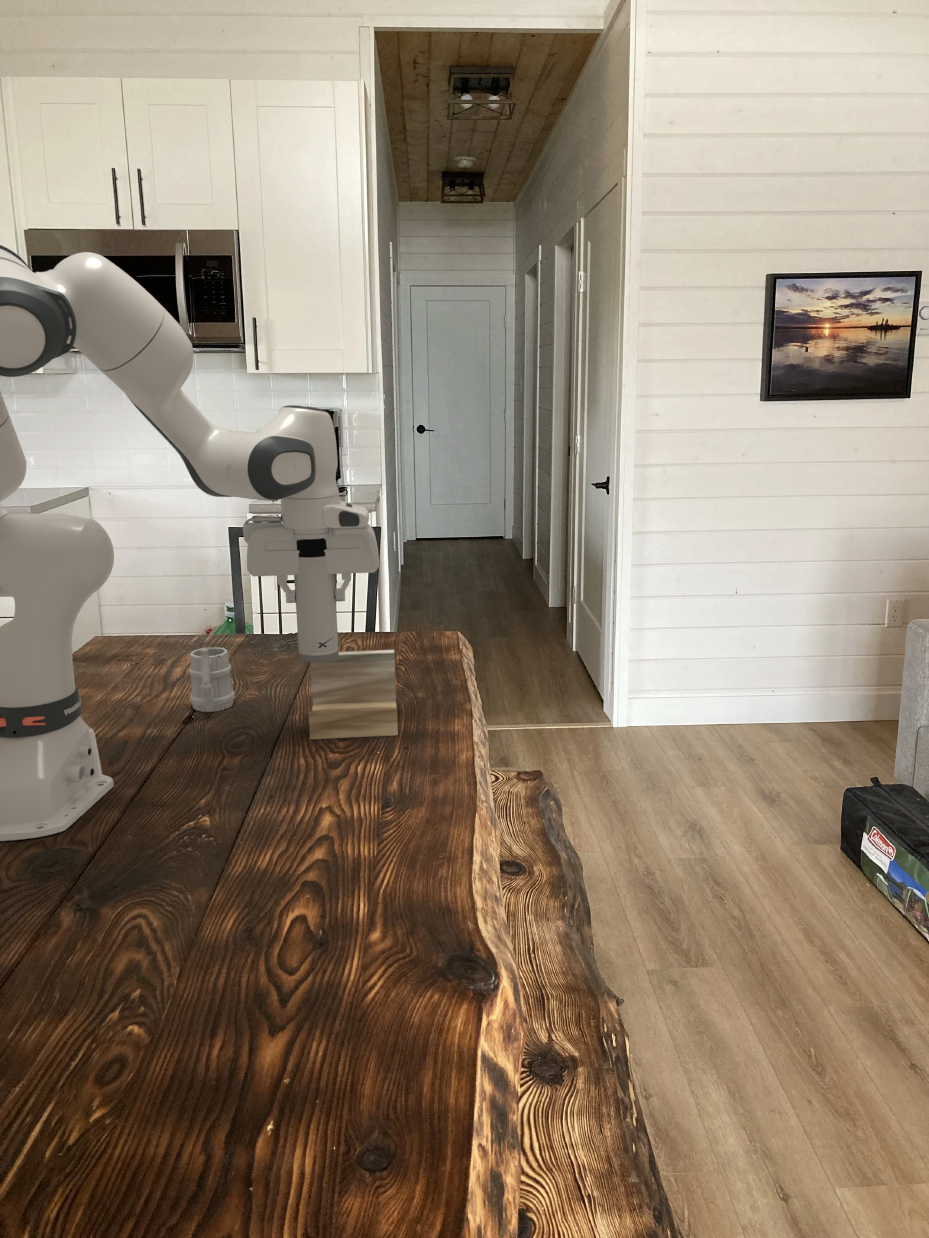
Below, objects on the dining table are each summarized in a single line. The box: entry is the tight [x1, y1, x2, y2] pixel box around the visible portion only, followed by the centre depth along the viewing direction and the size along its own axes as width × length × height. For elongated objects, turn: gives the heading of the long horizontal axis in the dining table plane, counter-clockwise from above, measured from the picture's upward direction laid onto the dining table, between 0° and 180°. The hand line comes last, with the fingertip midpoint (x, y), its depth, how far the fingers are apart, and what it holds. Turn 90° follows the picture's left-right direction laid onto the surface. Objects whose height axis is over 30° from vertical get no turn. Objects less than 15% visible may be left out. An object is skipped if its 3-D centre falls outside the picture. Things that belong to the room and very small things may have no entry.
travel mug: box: [293, 538, 340, 663], centre depth 148 cm, size 6×7×20 cm
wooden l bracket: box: [308, 649, 399, 740], centre depth 156 cm, size 12×14×11 cm
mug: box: [188, 646, 236, 713], centre depth 164 cm, size 8×12×12 cm, turn 9°
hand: (316, 601), depth 148 cm, fingers closed on travel mug, 6 cm apart
